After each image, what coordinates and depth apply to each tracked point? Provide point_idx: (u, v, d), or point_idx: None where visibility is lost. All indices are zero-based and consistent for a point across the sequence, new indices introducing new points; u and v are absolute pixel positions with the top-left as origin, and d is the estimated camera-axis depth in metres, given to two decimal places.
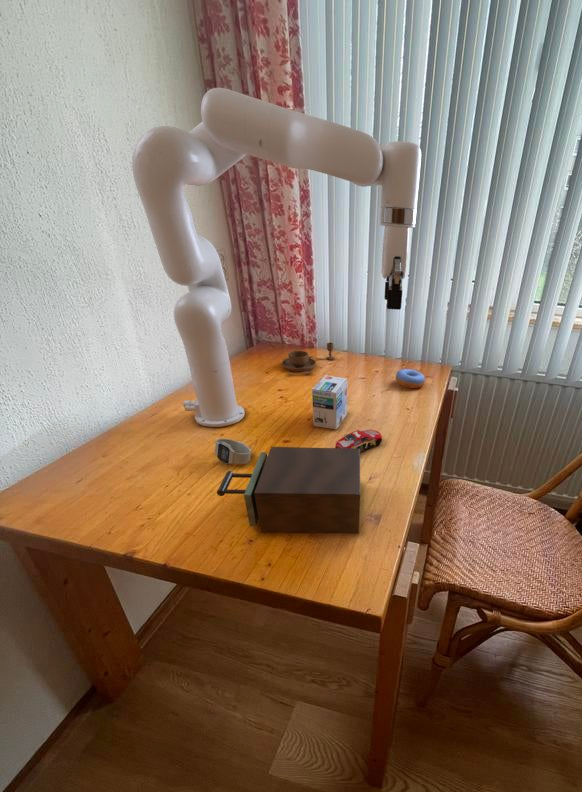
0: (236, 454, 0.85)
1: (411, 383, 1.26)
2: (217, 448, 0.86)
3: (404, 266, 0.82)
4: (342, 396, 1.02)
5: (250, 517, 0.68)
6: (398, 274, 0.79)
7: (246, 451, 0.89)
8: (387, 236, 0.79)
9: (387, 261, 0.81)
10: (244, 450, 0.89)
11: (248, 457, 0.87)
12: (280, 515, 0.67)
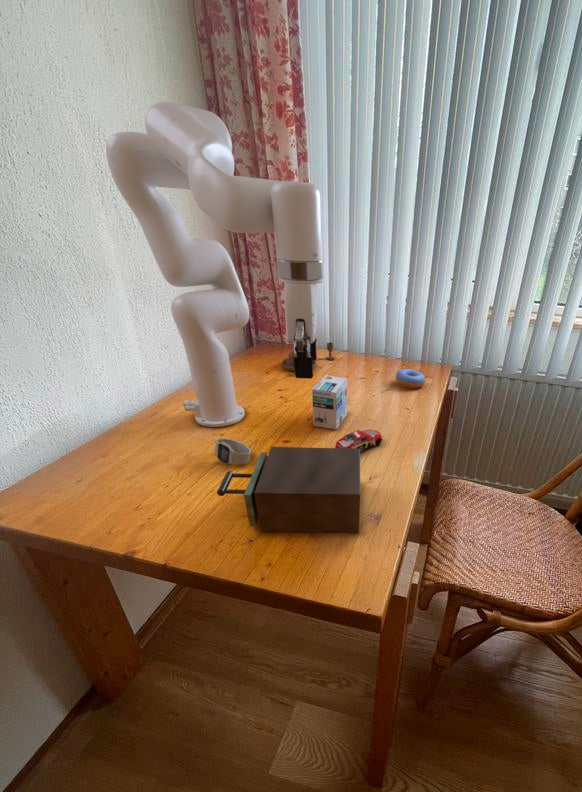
0: (236, 454, 0.85)
1: (411, 383, 1.26)
2: (217, 448, 0.86)
3: (310, 330, 0.66)
4: (342, 396, 1.02)
5: (250, 517, 0.68)
6: (300, 342, 0.64)
7: (246, 451, 0.89)
8: (285, 295, 0.63)
9: (288, 324, 0.65)
10: (244, 450, 0.89)
11: (248, 457, 0.87)
12: (280, 515, 0.67)
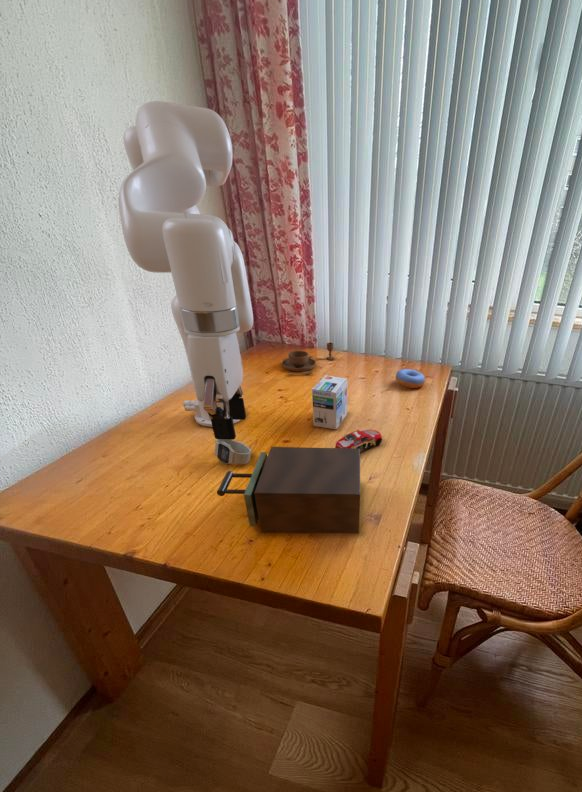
0: (236, 454, 0.85)
1: (411, 383, 1.26)
2: (217, 448, 0.86)
3: (223, 387, 0.56)
4: (342, 396, 1.02)
5: (250, 517, 0.68)
6: (210, 410, 0.55)
7: (246, 451, 0.89)
8: (188, 349, 0.54)
9: (195, 381, 0.55)
10: (244, 450, 0.89)
11: (248, 457, 0.87)
12: (280, 515, 0.67)
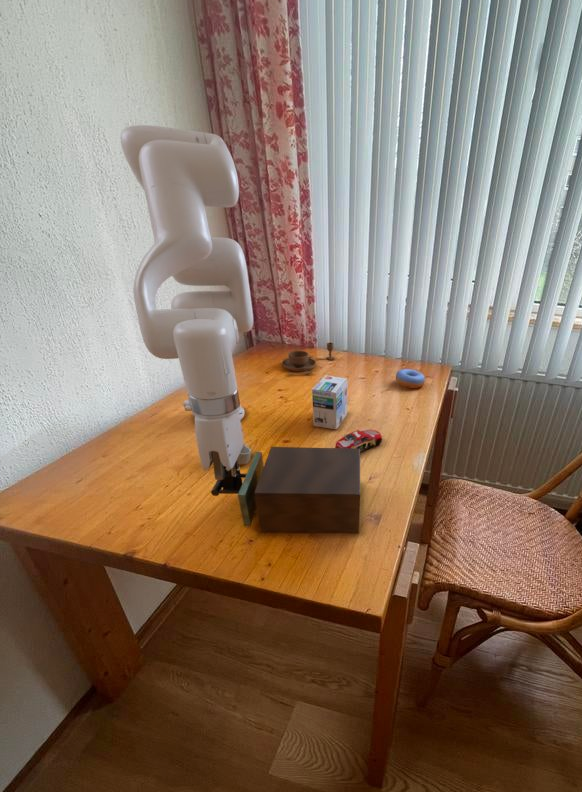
0: None
1: (411, 383, 1.26)
2: None
3: (226, 460, 0.63)
4: (342, 396, 1.02)
5: (244, 517, 0.68)
6: None
7: (246, 451, 0.89)
8: (195, 429, 0.61)
9: (201, 456, 0.62)
10: (244, 450, 0.89)
11: (248, 457, 0.87)
12: (280, 515, 0.67)
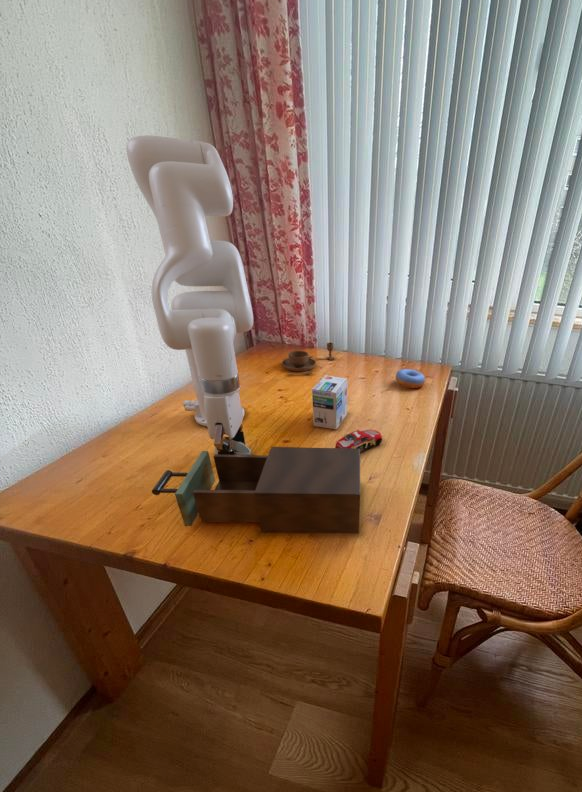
0: (236, 454, 0.85)
1: (411, 383, 1.26)
2: None
3: (228, 430, 0.79)
4: (342, 396, 1.02)
5: (184, 516, 0.67)
6: (218, 446, 0.78)
7: (246, 451, 0.89)
8: (204, 405, 0.77)
9: (209, 426, 0.78)
10: (244, 450, 0.89)
11: None
12: (280, 515, 0.67)
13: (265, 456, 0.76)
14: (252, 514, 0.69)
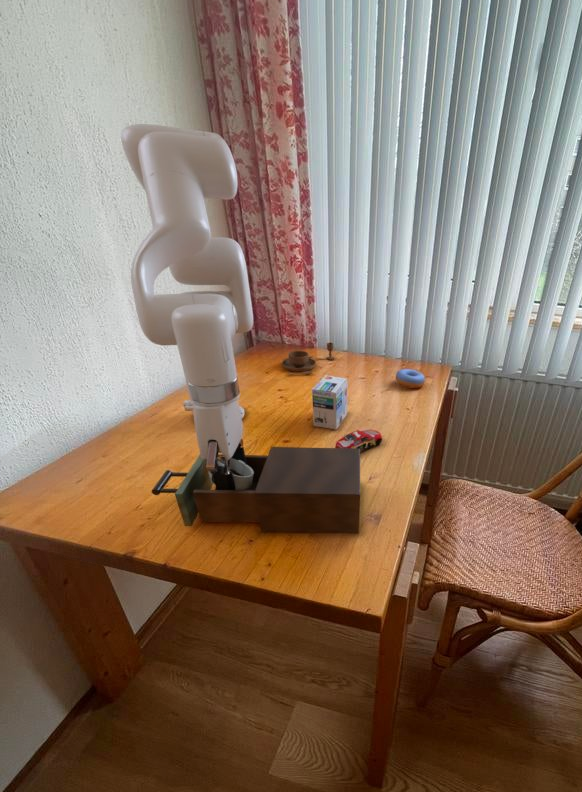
0: (235, 477, 0.68)
1: (411, 383, 1.26)
2: None
3: (225, 449, 0.62)
4: (342, 396, 1.02)
5: (184, 516, 0.67)
6: (212, 469, 0.61)
7: (247, 472, 0.72)
8: (194, 417, 0.60)
9: (200, 444, 0.61)
10: (245, 471, 0.72)
11: (250, 480, 0.70)
12: (280, 515, 0.67)
13: (265, 456, 0.76)
14: (252, 514, 0.69)
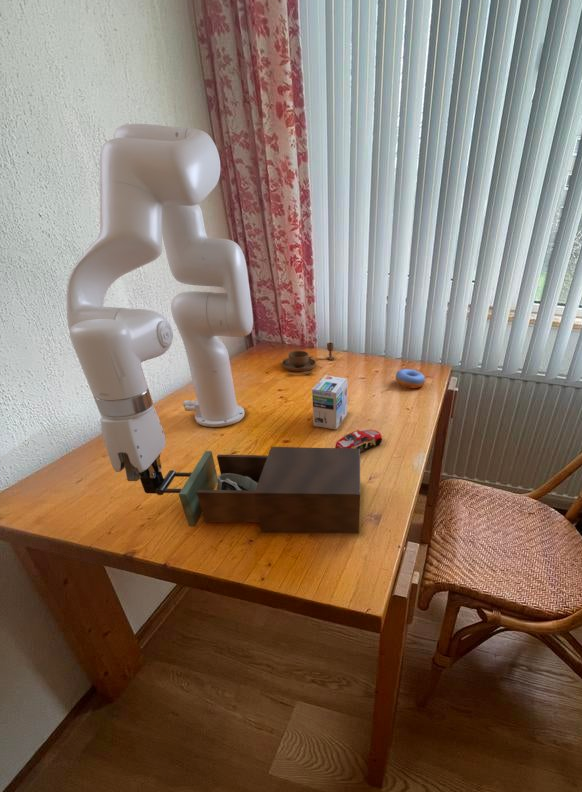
0: None
1: (411, 383, 1.26)
2: (220, 487, 0.72)
3: (136, 461, 0.63)
4: (342, 396, 1.02)
5: (188, 516, 0.67)
6: None
7: (255, 488, 0.75)
8: (102, 430, 0.60)
9: (110, 457, 0.62)
10: (252, 486, 0.75)
11: None
12: (280, 515, 0.67)
13: None
14: (256, 514, 0.69)
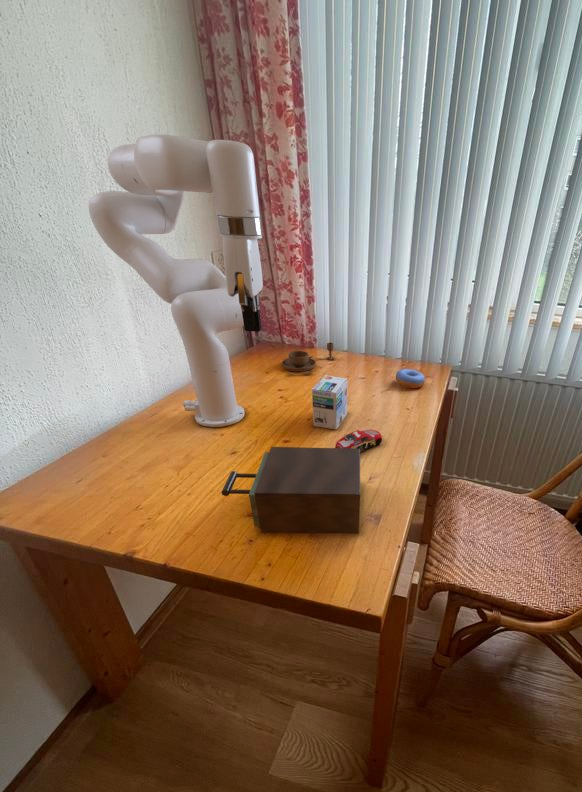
0: None
1: (411, 383, 1.26)
2: None
3: (249, 283, 0.71)
4: (342, 396, 1.02)
5: (254, 517, 0.68)
6: (244, 305, 0.73)
7: None
8: (223, 249, 0.68)
9: (227, 277, 0.70)
10: None
11: None
12: (280, 515, 0.67)
13: None
14: None
